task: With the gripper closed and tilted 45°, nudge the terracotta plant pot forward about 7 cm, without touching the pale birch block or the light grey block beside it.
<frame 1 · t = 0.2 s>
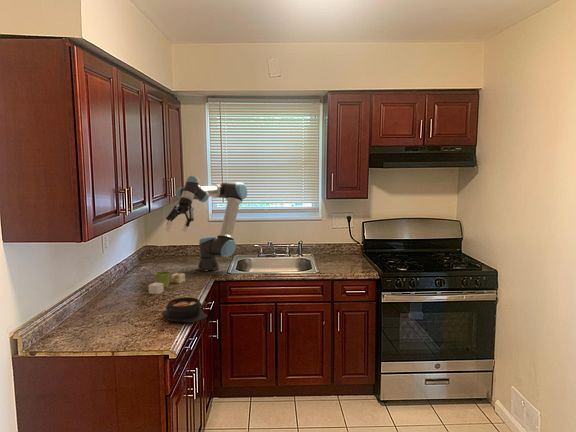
hand: (175, 231, 264), 35 cm above the worktop, tool tilted 30°, fingers open, 13 cm apart
plant pot: (163, 287, 271), on the worktop
grey block: (156, 292, 259), on the worktop
birch block: (178, 282, 282), on the worktop
casserole: (184, 318, 214), on the worktop
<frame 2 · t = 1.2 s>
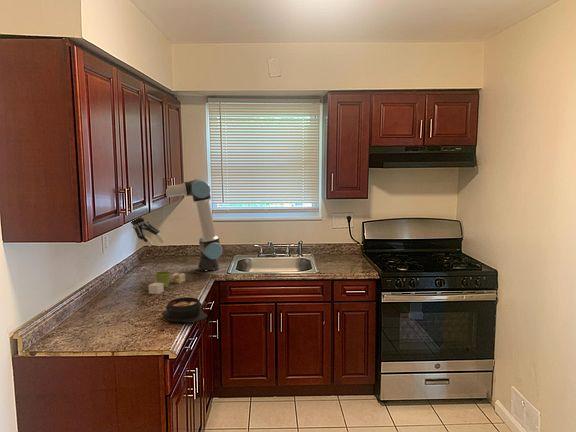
hand: (157, 243, 274), 26 cm above the worktop, tool tilted 45°, fingers open, 12 cm apart
nothing on the worktop moved.
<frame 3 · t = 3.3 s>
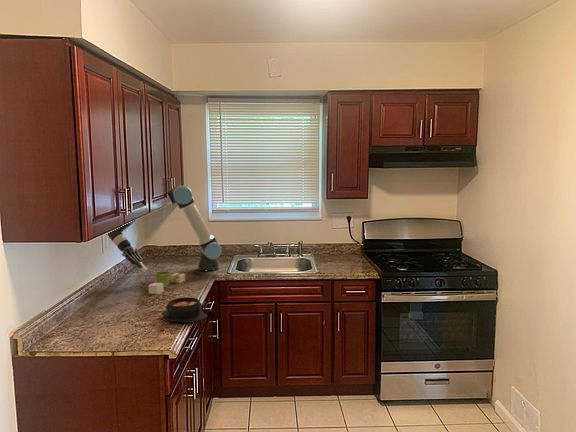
hand: (145, 271, 273), 9 cm above the worktop, tool tilted 45°, fingers closed
nothing on the worktop moved.
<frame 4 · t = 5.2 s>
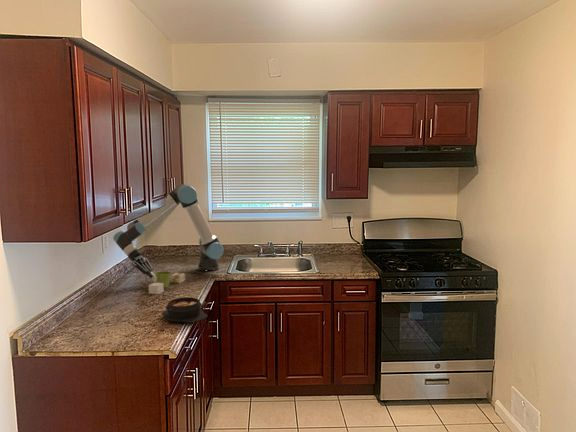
hand: (156, 280, 272), 3 cm above the worktop, tool tilted 45°, fingers closed
plant pot: (163, 287, 271), on the worktop, touching gripper
everything else where it was.
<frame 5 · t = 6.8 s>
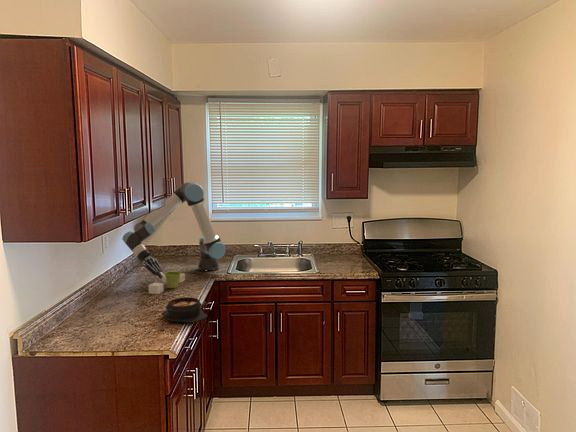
hand: (166, 281, 270), 4 cm above the worktop, tool tilted 45°, fingers closed
plant pot: (172, 287, 269), on the worktop, touching gripper
everything else where it was.
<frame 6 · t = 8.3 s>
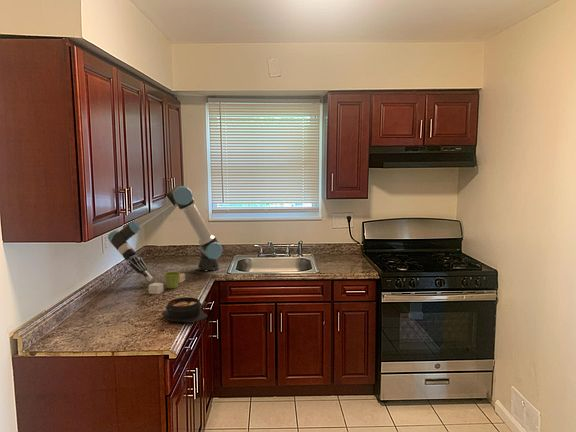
hand: (151, 279, 273), 4 cm above the worktop, tool tilted 45°, fingers closed
plant pot: (172, 287, 269), on the worktop
everything else where it was.
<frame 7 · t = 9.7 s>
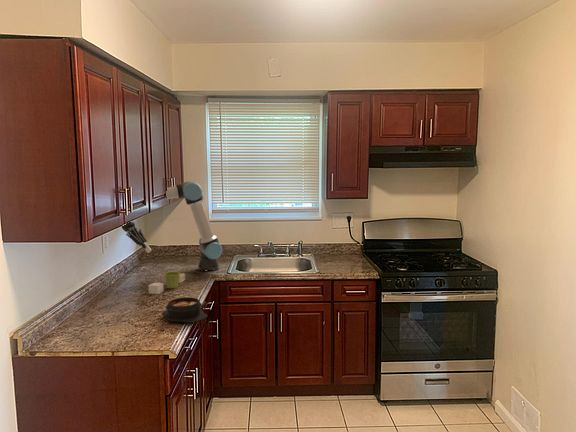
hand: (149, 251, 272), 21 cm above the worktop, tool tilted 45°, fingers closed
nothing on the worktop moved.
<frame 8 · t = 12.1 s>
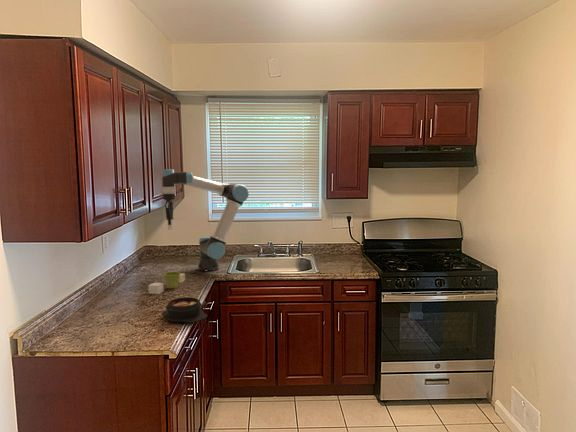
hand: (170, 229, 287), 32 cm above the worktop, tool pointing down, fingers closed
nothing on the worktop moved.
at the end: plant pot moved 6.4 cm from its start; birch block moved 0.2 cm from its start; grey block moved 0.2 cm from its start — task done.
